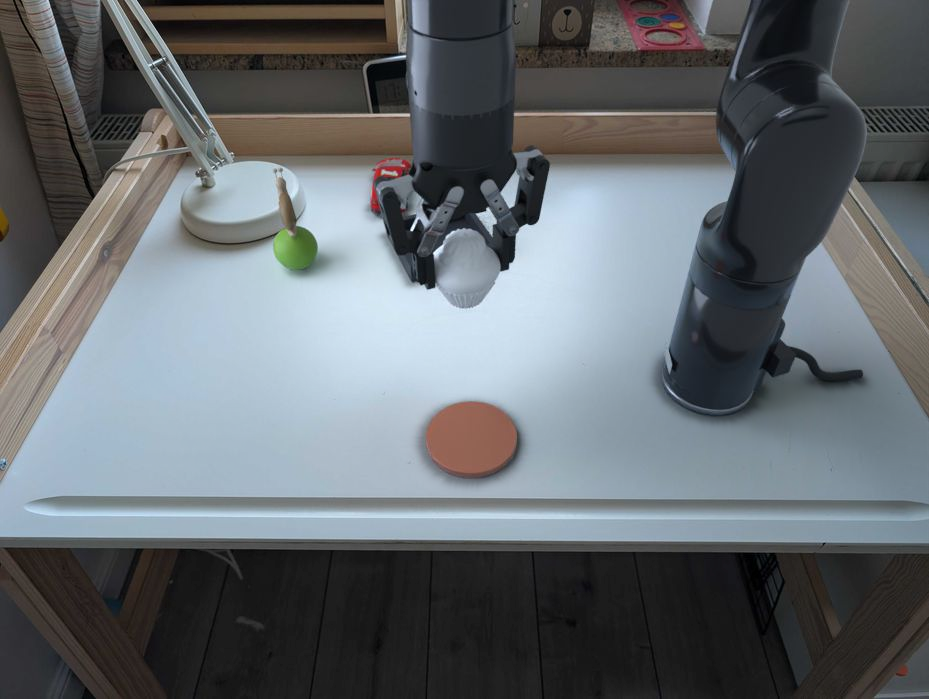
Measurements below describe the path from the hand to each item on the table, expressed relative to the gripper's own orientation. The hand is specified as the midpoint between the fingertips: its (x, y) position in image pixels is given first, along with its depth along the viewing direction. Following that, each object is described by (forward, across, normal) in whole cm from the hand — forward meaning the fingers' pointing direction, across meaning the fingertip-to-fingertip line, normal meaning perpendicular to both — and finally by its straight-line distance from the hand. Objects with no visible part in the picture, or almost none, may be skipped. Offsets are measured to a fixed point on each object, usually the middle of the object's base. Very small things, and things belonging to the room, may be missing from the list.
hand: (464, 273), depth 62 cm
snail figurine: (+18, -12, +31) cm, 37 cm away
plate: (+17, -1, -4) cm, 18 cm away
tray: (+17, +6, +27) cm, 33 cm away
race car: (+18, +4, +42) cm, 46 cm away
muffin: (+3, 0, 0) cm, 3 cm away
